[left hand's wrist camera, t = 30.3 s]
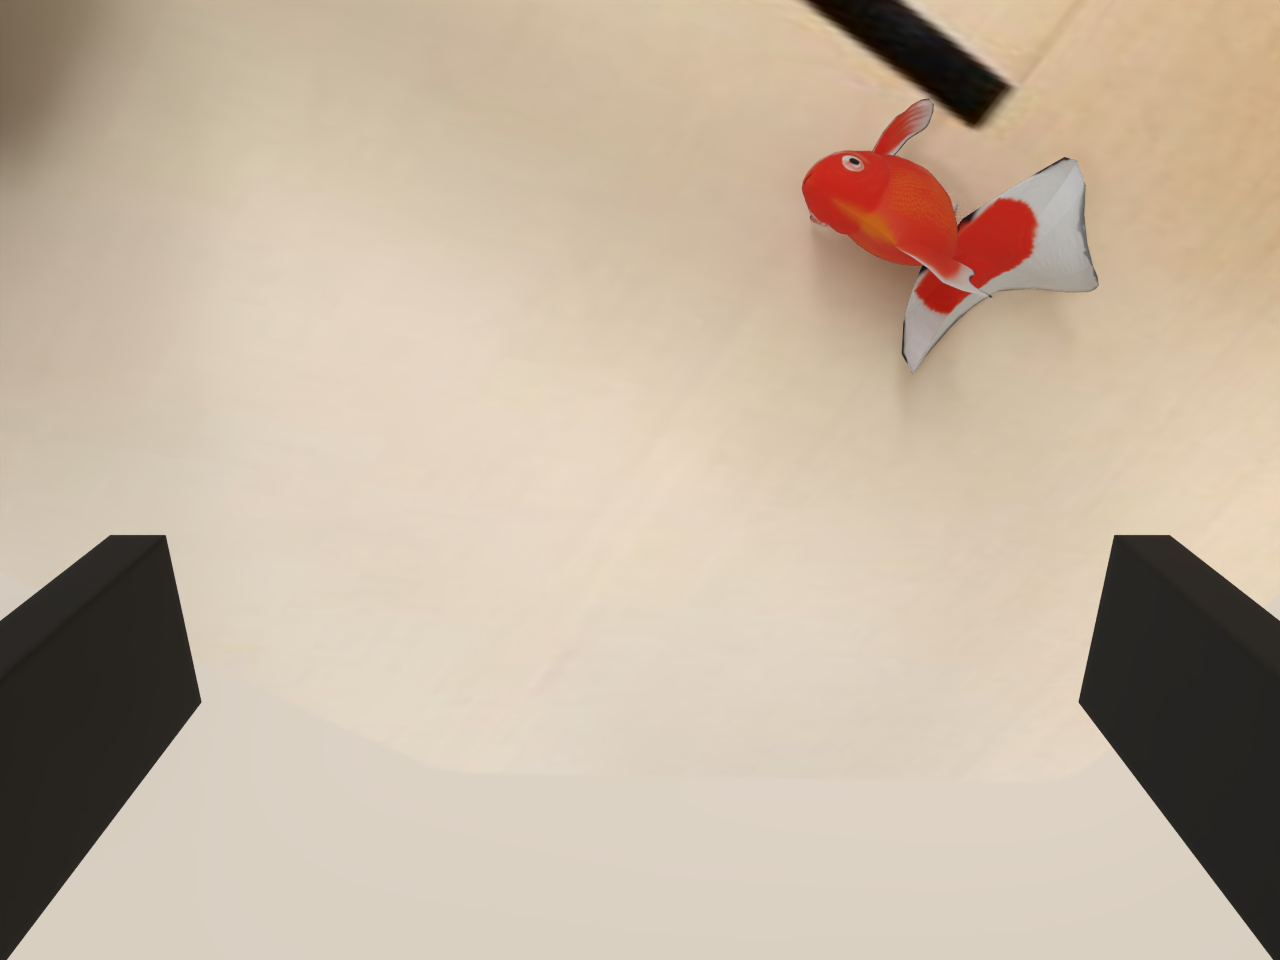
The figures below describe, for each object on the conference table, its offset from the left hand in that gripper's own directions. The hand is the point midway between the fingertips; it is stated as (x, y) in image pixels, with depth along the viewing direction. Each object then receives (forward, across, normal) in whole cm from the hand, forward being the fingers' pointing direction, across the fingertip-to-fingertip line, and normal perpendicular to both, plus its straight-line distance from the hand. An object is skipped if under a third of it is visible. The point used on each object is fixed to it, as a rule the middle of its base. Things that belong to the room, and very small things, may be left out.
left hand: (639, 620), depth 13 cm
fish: (+36, -15, -2) cm, 39 cm away
